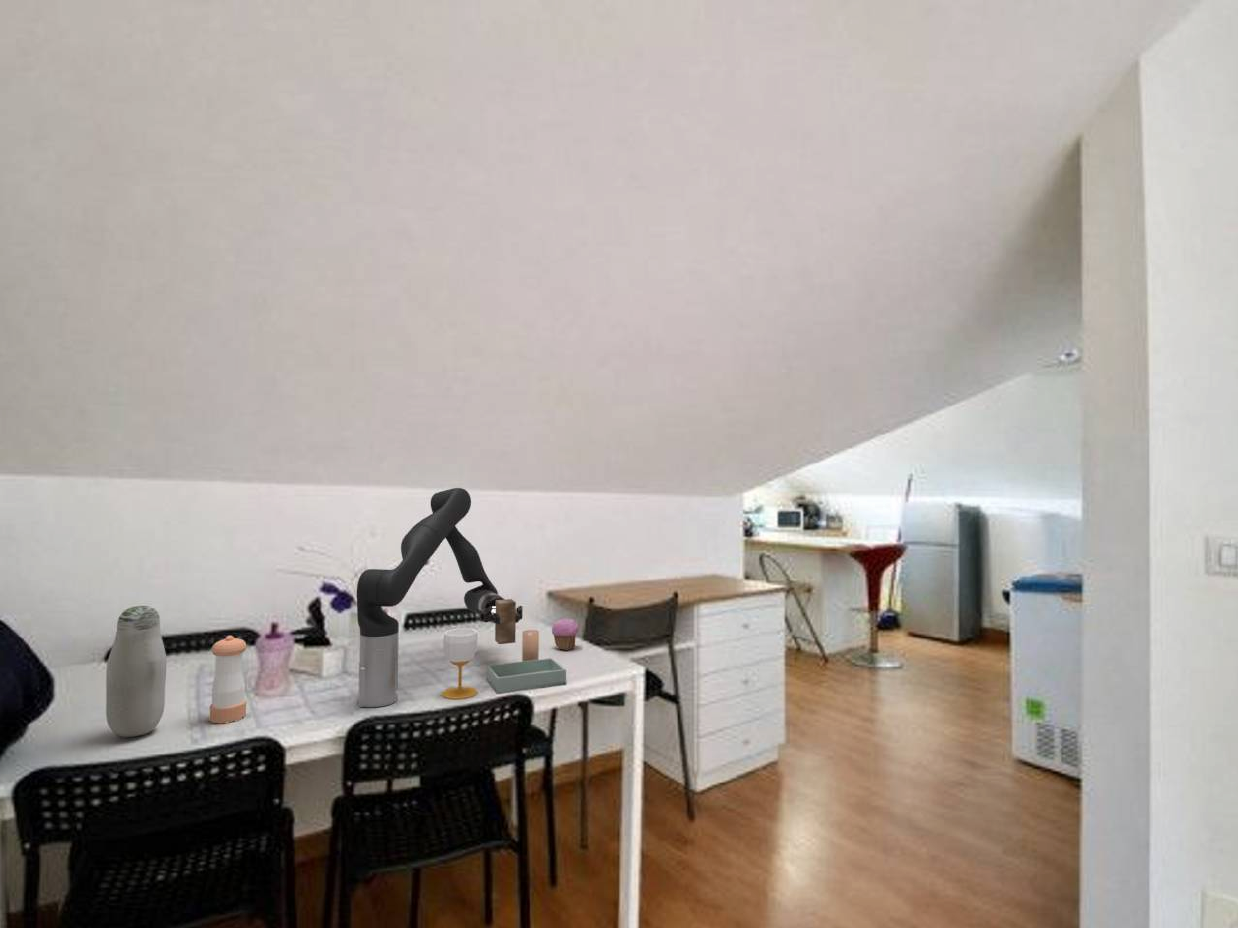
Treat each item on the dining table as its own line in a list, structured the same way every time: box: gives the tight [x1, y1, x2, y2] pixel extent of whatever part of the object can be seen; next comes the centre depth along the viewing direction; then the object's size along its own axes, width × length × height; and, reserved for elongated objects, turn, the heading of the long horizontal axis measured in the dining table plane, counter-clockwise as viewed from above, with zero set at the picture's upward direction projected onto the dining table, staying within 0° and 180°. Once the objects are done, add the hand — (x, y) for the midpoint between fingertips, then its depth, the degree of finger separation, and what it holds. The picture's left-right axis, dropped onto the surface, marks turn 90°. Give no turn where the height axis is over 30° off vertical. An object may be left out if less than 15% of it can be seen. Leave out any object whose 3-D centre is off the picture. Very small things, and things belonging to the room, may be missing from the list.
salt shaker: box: [209, 635, 247, 724], centre depth 150 cm, size 7×7×19 cm
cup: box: [442, 627, 479, 700], centre depth 168 cm, size 9×9×16 cm
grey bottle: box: [105, 605, 167, 738], centre depth 140 cm, size 10×10×28 cm
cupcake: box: [551, 618, 580, 651], centre depth 212 cm, size 9×9×10 cm
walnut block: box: [494, 598, 517, 645], centre depth 175 cm, size 4×4×11 cm
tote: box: [486, 657, 567, 695], centre depth 177 cm, size 19×12×4 cm, turn 114°
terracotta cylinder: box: [521, 629, 540, 662], centre depth 189 cm, size 5×5×11 cm
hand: (508, 619), depth 173 cm, fingers closed on walnut block, 4 cm apart
